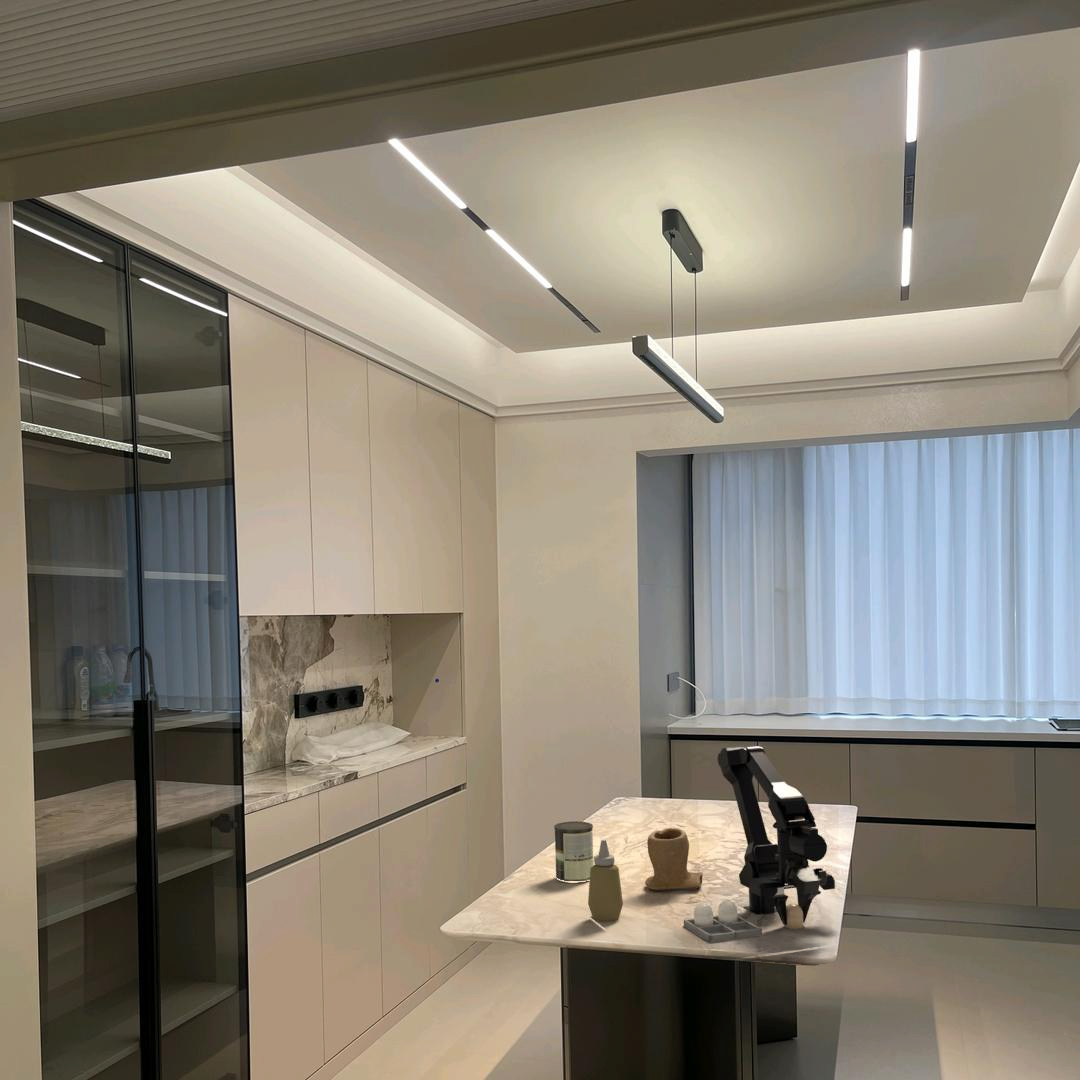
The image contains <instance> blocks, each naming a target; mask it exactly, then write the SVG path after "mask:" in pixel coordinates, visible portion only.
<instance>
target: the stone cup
mask: <svg viewBox="0 0 1080 1080" xmlns="http://www.w3.org/2000/svg"><path fill="white" fill-rule="evenodd" d="M689 852H690V841H689V837H688V835H687V833H686V832H685V831H684V830H683V829H681V828H676V827H668V828H665V829H663V830H655V831H653V832H651V833H650V834H649V835H648V838H647V853H648V857H649V859H650V863H651V865H652V868H653V875H652V876H649V877H648V878H646V879H645V882H644V885H645V886H646V887H647V888H648V889H650V890H654V891H655V890H656V891H671V890H672V891H675V890H691V889H692V890H693V889H694V890H695V889H700V888H701V887H702V885H703V878H704V876H703V875H704V874H703V872H700V871H699V872H690V871H688V859H689V854H690V853H689Z"/></svg>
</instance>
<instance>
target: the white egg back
mask: <svg viewBox="0 0 1080 1080" xmlns="http://www.w3.org/2000/svg"><path fill="white" fill-rule="evenodd" d="M713 916H714V910H713V908H712V907H711V906H710V905H709V904H707V903H699V904H697V905H696V906H695V908H694V910H693V919H694V925H696V926H697V927H702V926H710V925H713Z"/></svg>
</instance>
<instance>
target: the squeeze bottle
mask: <svg viewBox="0 0 1080 1080" xmlns="http://www.w3.org/2000/svg"><path fill="white" fill-rule="evenodd" d="M588 884H589V886H588V898H587V905H588V907H589V911H590V914H591V917H592V918H593V921H594V920H595V922H603V923H604V922H614V921H617V920H619V918H620V915H621V912H622V908H623V905H624V900H623V894H622V885H621V877H620V869H619V866H617V865H616V864H615V856H614V855H612V854H610V850H609V847H608V842H607V840H606V839H601V840H600V846H599V850H598V854H596V855H595V856H593V866H592V867H591V868H590V881H589V882H588Z"/></svg>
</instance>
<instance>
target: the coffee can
mask: <svg viewBox="0 0 1080 1080" xmlns="http://www.w3.org/2000/svg"><path fill="white" fill-rule="evenodd" d="M593 828H594V826H593V824H592V823H591V822H586V821H575V820H574V821H565V822H563V821H562V822H558V823H556V824H555V825H554V845H555V847H554V848H555V851H554V852H555V878H556V877H557V878H558V879H560V880H564V881H587V880H590V868H591V867H592V866H593V865H594V844H593V843H594V842H593V841H594V840H593V839H594V837H593Z"/></svg>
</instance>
